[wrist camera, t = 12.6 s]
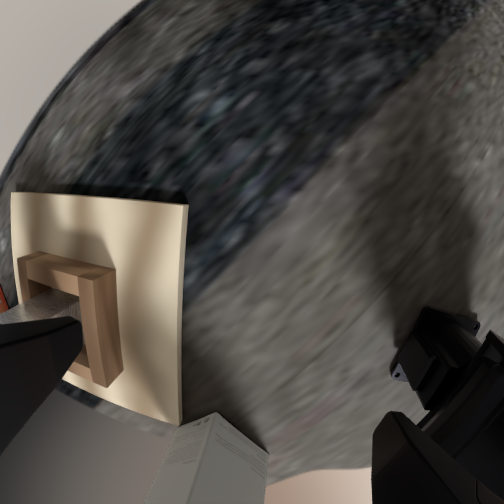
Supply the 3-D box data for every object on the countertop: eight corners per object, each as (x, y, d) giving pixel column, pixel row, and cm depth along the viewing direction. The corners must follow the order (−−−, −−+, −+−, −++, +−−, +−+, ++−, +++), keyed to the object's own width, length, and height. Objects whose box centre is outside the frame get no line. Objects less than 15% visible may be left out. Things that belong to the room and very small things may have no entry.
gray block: (90, 294, 21) (-29, 367, 9) (95, 335, 22) (-5, 418, 9) (59, 285, 22) (-52, 342, 9) (64, 324, 22) (-33, 390, 10)
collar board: (188, 204, 19) (163, 209, 15) (182, 419, 24) (168, 447, 20) (17, 191, 22) (-11, 195, 18) (37, 358, 26) (18, 373, 22)
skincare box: (176, 425, 24) (116, 541, 10) (219, 407, 23) (164, 550, 8) (231, 468, 25) (198, 577, 11) (275, 455, 24) (255, 581, 9)
